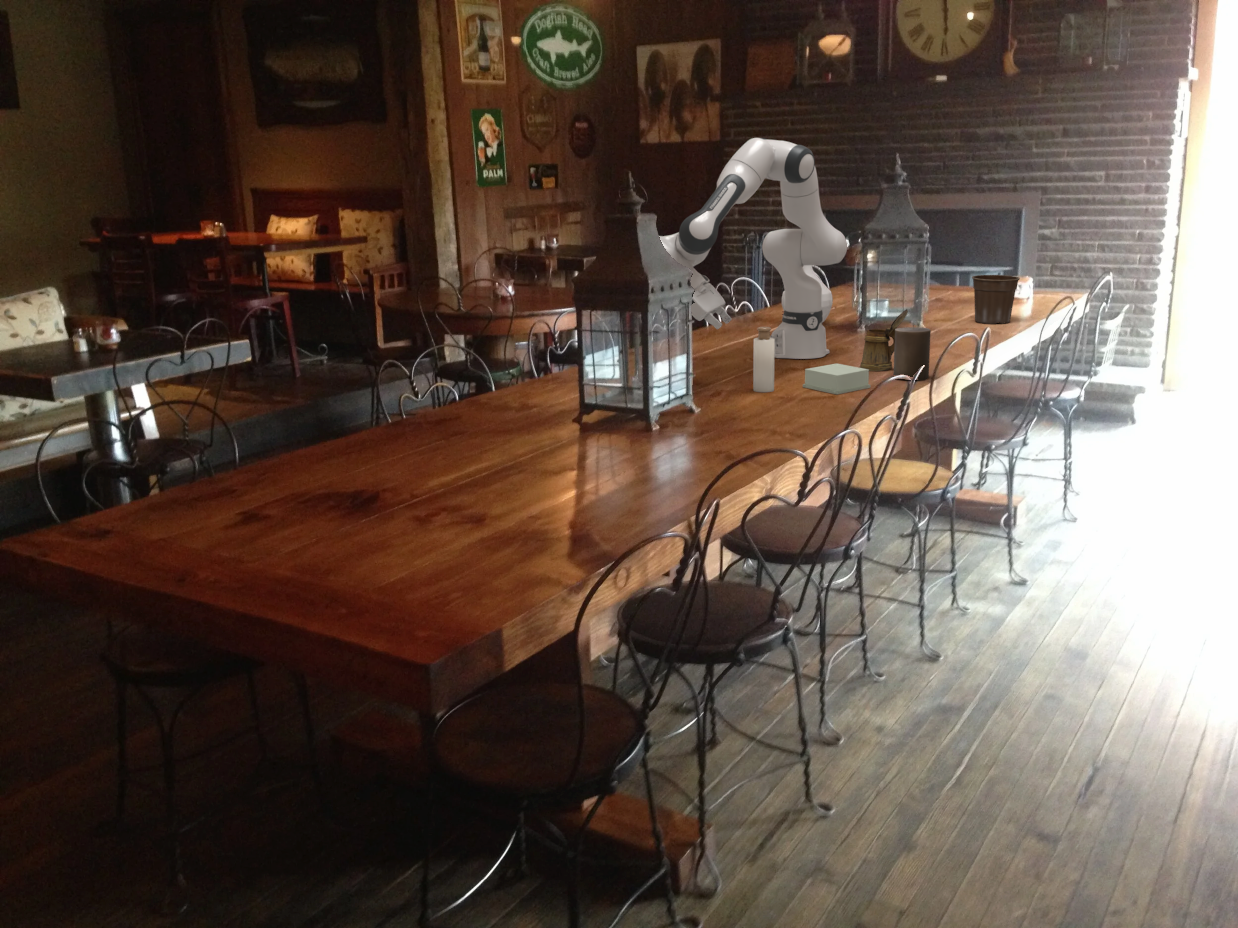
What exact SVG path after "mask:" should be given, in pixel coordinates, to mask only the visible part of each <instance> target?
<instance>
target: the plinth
mask: <svg viewBox="0 0 1238 928" xmlns="http://www.w3.org/2000/svg"><path fill="white" fill-rule="evenodd" d="M869 374H870V372H869V369H863V368H860V367H857V366H854V365H853V366H852V365H847V364H842V363H838V362H837V363H831V364H826V365H821V366H815V367H810V368H805V369H804V383H802V388H806V389H810V390H813V391H819V392H824V393H829V394H833V395H841V394H846V393H851V392H855V391H856V392H857V391H860V390H866V389H871V384H869V379H870V378H869V377H870V375H869Z"/></svg>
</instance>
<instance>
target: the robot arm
mask: <svg viewBox="0 0 1238 928" xmlns="http://www.w3.org/2000/svg"><path fill="white" fill-rule="evenodd" d="M765 179H767V180H772V181H776V182H777V181H778V182H779V185H780V197H781V206H782V207H781V208H782V214H783V216H784V217H785V218H786V220H787V221H789V222H790V223H792V225H793V224H794V225H795V226H797V227H798V228H782V229H776V230H772V231H769V232H768V233H767V234H766V235H765V237H764V239H763V241H762V245H761V247H762V254H763V257H764V258H765V260H766V261H767V262H768V263H769V264H771V265H772V266H773V267H774V268H775V269H776V271H777V272H778V273H779V275H780V277H781V279H782V283H783V287H784V291H785V311H784V310H783V311H781V313H782V314H781V315H782V319H781V321H782V322H781V323H780V324H779V325H778V326H777V327H776V328H775V329H774V330H773V331H772V333H771V335H770V338H774V339H775V348H774V359H794V360H799V359H800V360H802V359H803V360H804V359H805V360H809V359H818V358H823V357H826V355H828V354H830V349H828V348H827V337H826V328H825V327H826V326H824V325H823V323H821V322H822V321H823V311H822V310H821V297H822V288H821V285H820V283H819V282H818V281H817V280H815V279H814V278H812V277H810V276H808V275H806V273H805V272H804V270H803V266H804V265H812V266H823V267H824V266H829V265H835V264H839V263H841V262H842V260H843V259H844V258H845V256H846V255H847V250H848V243H847V242H848V241H847V239H846V237H845V235H844V234H843V232H841V231H840V230H838V229H837V228H835V227H834V226H833V225H832V224H831V223H830V222H829V221H828V219H827V218H826V216H825V214H824V213H823V209H822V206H821V199H820V189H819V179H818V173H817V168H816V160H815V156H814V154H813V152H812V149H810V148H808V147H806V146H804V145H803V144H796V143H793V142H790V141H786V140H782V139H781V140H777V139H767V138H765V137H754V138H753V137H752V138H750V139H748V140H747V141H746V142H745V143H744V144H742V145H741V147H739V148H738V150H736V152H735V153H734V154H733V155H732V157H731V158H730V159H729V160H728V162H726V164H725V166H724V168H723V169H722V171H721V173H720V174H719V176H718V178H717V181H716V188H715V190H714V191H713V192H712V194H711V196H710V197H709V198H708V200H706V202H705V203H704V205H703V206H702V207H701V209H698V211H696V212H694V213H692V214H690V215H689V216H687V217H686V218H685V219H684V220H683V221H682V222H681V224H680V226H679V230H678V232H676V233H673V234H669V235H664V236H663V235H658V236H659V237H660V240H661V242H662V244H663V246H664V248H665V249H666V251H667V252H668V253H669V254H670V255H671V257H672V258H674V259H675V260H676V261H677V262H678V263H680V264H682V265H683V266H686V267H688V268H690V269H691V270H692V271H693V275H692V277H691V281H690V282H691V286H692V287H693V288H694V290H695V292H694V294H693V300H694V302H695V303H693V304H692V305H691V312H692V314H691V315H692V317H693V318H694V319H695V320H697V321H699V322H700V321H702V320H705V322H707V323H708V324H710V325H711V326H713V327H714V328H715V329H716V330H719V329H720V328H721V327H722V326H723V323H722V322H724V323H725V324H729V323H730V322H731V321H732V317H731V316H730V315H729V314H728V313H727V310H726V309H725V308H724V306H725V305H726V301H725V298H723V296H722V295H721V293H720V292H719V291H718V290H717V289H716V288H715V287H714V285H712V283H710V279H709V278H708V277H707V276H706V275H704V274H701V273H700V272H698V271H697V270H696V268H694V267H695V266H697V265H699V264H700V263H702V262H704V260H706V258H707V257H708V255H709V252H710V250H711V249H712V247H713V246H714V245H715V243H716V242H717V238H718V235H719V229H720V228H719V227H720V225H721V223H722V222H723V220H724V219H725V218H726V216H727V215H728V214H729V212H730V210H731V209H732V208H733V207H734V205H736V204H737V205H739V204H740V205H741V204H744V203H746V202H747V201H748V200H749V199H750V198H751V197H752V196H753V195H754V194H755V193H756V191H758V189H759V188H760V186H761V185H762V184H763V182H764V180H765ZM714 314H717V315H718V316H719V317H720V318H721V320H719V319H717V318H716V317H715V316H714ZM721 321H722V322H721Z"/></svg>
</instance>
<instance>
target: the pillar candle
mask: <svg viewBox="0 0 1238 928" xmlns="http://www.w3.org/2000/svg"><path fill="white" fill-rule="evenodd" d="M930 349H931V329H930V328H927V327H919V326H917V327H915V326H914V324H912V326H910V327H908V326H906V327H897V329H895V349H894V352H893V375H900V374H904V375H908V376H910V377H913V375H914V374H915V373H916V372H917V371H918V369H919V368H920V367H921V366H923V365H925V367H924V368H923V370H922V372H921V373H920V375H919V377H918V380H917V381H926V380H928V379H929V377H930V376H929V375H930V353H931V350H930Z"/></svg>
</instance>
